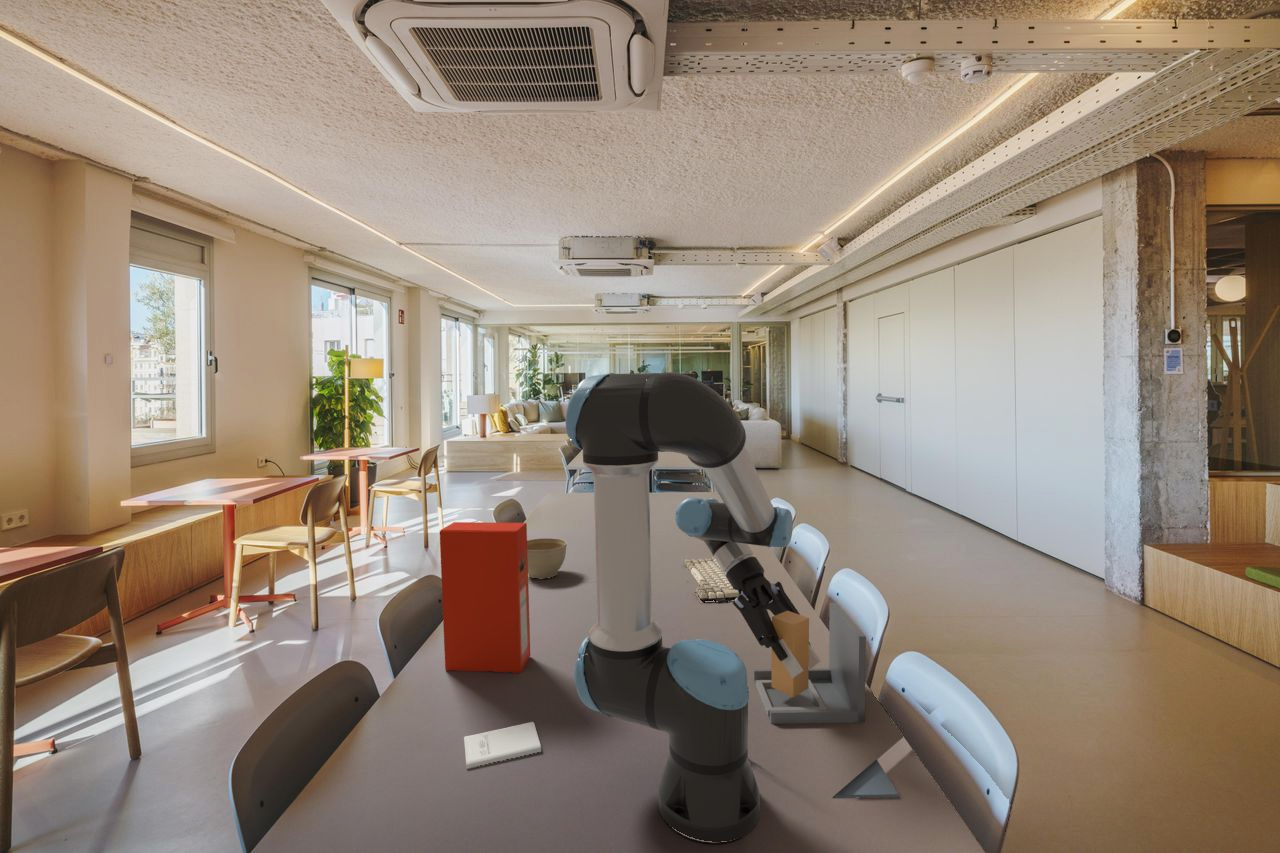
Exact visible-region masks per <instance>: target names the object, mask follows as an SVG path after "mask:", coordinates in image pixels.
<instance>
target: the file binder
mask: <svg viewBox="0 0 1280 853" xmlns="http://www.w3.org/2000/svg"><path fill="white" fill-rule="evenodd" d="M527 531H528V528H527V522H479V521H477V522H476V521H474V522H468V521H467V522H466V521H461V522H460V521H459V522H458V521H457V522H456V521H455V522H454V521H453V522H452V523H450V524H449V525H447V526H445V527H444V528H442V529H440V530H439V547H440V550H439V551H440V572H441V574H440V575H441V596H442V597H441V598H442V618H443V619H442V621H443V624H442V625H443V644H444V646H443V648H444V666H445V668H444V669H445V671H450V672H451V671H452V672H454V671H453V670H455V671H456V672H457V671H458V672H479V671H493V672H492V673H508V672H513V673H514V674H516V673H517V674H521V673H522V671H523V670H524V668H525V666H526V665H527V663H528V661H529V660H530V657H531V636H530V635H531V632H530V626H531V625H530V596H529V595H530V594H529V574H528V556H527V540H528V532H527ZM463 670H464V671H463ZM494 671H495V672H494Z"/></svg>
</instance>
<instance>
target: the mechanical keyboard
mask: <svg viewBox="0 0 1280 853" xmlns="http://www.w3.org/2000/svg"><path fill="white" fill-rule="evenodd" d="M683 564H684V566H685V565H686V566H685V567H687V568H688V570H689V571H690V573H691V574H692V575H693V577H694V578H695V580H696V581H697V583H698V584H699V586H701V587H697V588H696V592H695V593H697V594H698V597H699V598H700V600H701V601H702V602H705V601H713V600H714V601H718V602H717V603H723V602H726V603H728V602H727V601H731V602H733V601H732V600H735V599H736V598H737V597H738V596H739V592H738V590H735V589H733V587H732V586H731V584H730V582H729V581H728V579H727V578H726V573H725V572H723V571H722V569H721V567H720V566H719V564H718V562H717V561H716V559H715V558H714V556H712V557H711V558H710V557H706V558H698V559H696V558H691V560H690V559H688V558H685V559H684V562H683Z"/></svg>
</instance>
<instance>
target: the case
mask: <svg viewBox="0 0 1280 853" xmlns="http://www.w3.org/2000/svg"><path fill="white" fill-rule="evenodd" d="M828 624H829V626H828V630H829V633H828V638H829V639H828V641H829V642H828V648H829V649H828V667H826V668H809V674H808V689H806V690H805V691H803V692H801V693H799V694H798V695H796V696H794V697H792V696H790V695H787V694H785V693H783V692H781V691H779V690H777V689H775V688H773V687H771V684H772V668H761V669H759V668H758V669H755V668H754V669H753V682H754V684H755V686H756V689H757V691H758V694H759V697H760V698H761V699H760V700H761V701H762V704H763V707H764V709H765V712H766V715H767V718H768V720H769V722H770V724H772V725H773V724H779V725H780V724H781V725H782V724H785V725H787V724H843V723H844V724H846V723H847V724H850V723H851V724H854V723H855V724H856V723H857V724H858V723H863V724H864V723H865V722H866V721H865V720H866V715H865V714H866V662H867V660H866V653H867V652H866V650H867V648H866V645H867V644H866V643H867V636H866V634H864V632H862V630H861V629H860V628H859V627H858V626H857V625H856V624H855V623H854V621H853V620H851V618H850V617H849V616H848V615H847V614H846V613H845V612H844V611H843V609H842V608H840V606H839V605H838V604H837V603H836V602H829V622H828Z"/></svg>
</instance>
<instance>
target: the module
mask: <svg viewBox="0 0 1280 853" xmlns="http://www.w3.org/2000/svg"><path fill="white" fill-rule="evenodd" d="M799 614H800V613H799ZM799 614H796V613H793V612H790V611H785V612H783V613H780V614H778V615H775V616H774V615H773V616H771V621H772V623H773V625H774V628H775V630H776V632H777V635H778V637H779V640H778V641H780V640H781V639H783V640H784V641H785V643H786V644H787V646H788V647H789V649H790V651H791V652H792V654H793V655H794V657H795V658H796V660H797V661H798V663H799V665H800V666H801V668H802V669H803V672H801V673H800V674H798V675H797V676H795V677H794V678H792V677H791V675H790V674H789V672H788V671H787V669H786V667H785V666H784V664H783V663H782V661H780V660H779V659H778V657H777V656H776V654H775V653H774V651H773V649H772V648H771V669H772V684H771V687H773V688H775V689H777V690H779V691H781V692H783V693H785V694H787V695H790V696H792V697H794V696H796V695H798V694H799V693H801V692H803V691H805V690H806V689H808V674H809V669H810V668H809V642H810V618H809V617H808V616H805V615H801V614H800V615H799Z"/></svg>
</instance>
